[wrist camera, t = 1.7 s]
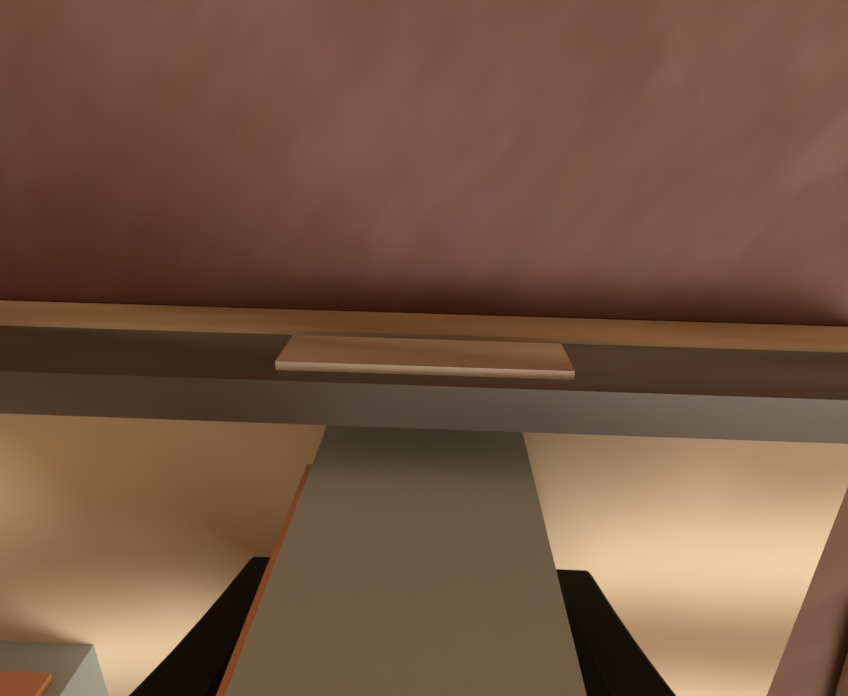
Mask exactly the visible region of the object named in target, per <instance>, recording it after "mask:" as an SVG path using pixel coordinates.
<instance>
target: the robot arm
mask: <svg viewBox="0 0 848 696" xmlns="http://www.w3.org/2000/svg"><path fill="white" fill-rule="evenodd" d="M269 560H270V557H253V558H252V559H250V560H249V561H248V562H247V564H246V565H245V566H244V567H243V569H242V570H241V571H240V572H239V574H238V575H237V576H236V577H235V579H234V580H233V581H232V582H231V583H230V585H229V586H228V587H227V588H226V590H225V591H224V592H223V593H222V594H221V596H220V597H219V598H218V599H217V600H216V601H215V603H214V604H213V605H212V606H211V607H210V609H209V610H208V611H207V612H206V613H205V614H204V616H203V617H202V618H201V619H200V620H199V621H198V622H197V623H196V625H195V626H194V627H193V628H192V629H191V630H190V631H189V632H188V634H187V635H186V636H185V637H184V638H183V639H182V640H181V641H180V643H179V644H178V645H177V646H176V647H175V648H174V649H173V650H172V651H171V652H170V654H169V655H168V656H167V657H166V658H165V659H164V660H163V661H162V662H161V663H160V664H159V665H158V666H157V667H156V668H155V669H154V670H153V671H152V672H151V673H150V674H149V675H148V676H147V677H146V678H145V680H144V681H143V682H142V683H141V684H140V685H139V686H138V687H137V688H136V689H135V690H134V691H133V692H132V693H131V694H130V695H129V696H216V694H217V692H218V689H219V687H220V684H221V682H222V679H223V677H224V674H225V671H226V669H227V666H228V664H229V661H230V659H231V656H232V654H233V651H234V649H235V646H236V643H237V641H238V638H239V636H240V633H241V631H242V628H243V626H244V623H245V621H246V618H247V616H248V613H249V610H250V608H251V605H252V603H253V600H254V598H255V595H256V593H257V590H258V588H259V585H260V583H261V580H262V577H263V575H264V572H265V570H266V567H267V565H268V562H269ZM556 571H557V576H558V580H559V584H560V588H561V592H562V596H563V600H564V604H565V608H566V612H567V617H568V621H569V625H570V629H571V633H572V637H573V641H574V645H575V649H576V653H577V658H578V662H579V666H580V670H581V674H582V678H583V682H584V686H585V690H586V694H587V696H676V695H675V694H674V692H673V691H672V690H671V688H670V687H669V686H668V685H667V683H666V682H665V681H664V679H663V678H662V677H661V675H660V674H659V673H658V671H657V670H656V668H655V667H654V666H653V664H652V663H651V662H650V660H649V659H648V658H647V656H646V655H645V654H644V652H643V651H642V650H641V648H640V647H639V645H638V644H637V642H636V641H635V640H634V638H633V637H632V635H631V634H630V632H629V631H628V630H627V628H626V627H625V625H624V624H623V622H622V621H621V619H620V618H619V616H618V615H617V613H616V612H615V610H614V609H613V607H612V606H611V604H610V603H609V601H608V600H607V598H606V597H605V595H604V594H603V592H602V590H601V589H600V587H599V586H598V584H597V582H596V581H595V579H594V578H593V576H592V575H591V574H590V573H589V572H588V571H586V570H562V569H556Z"/></svg>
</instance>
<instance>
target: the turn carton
mask: <svg viewBox="0 0 848 696" xmlns="http://www.w3.org/2000/svg"><path fill="white" fill-rule="evenodd" d="M216 696H587V694H586V690H585V686H584V682H583V678H582V674H581V670H580V666H579V662H578V658H577V653H576V649H575V645H574V641H573V637H572V633H571V629H570V625H569V621H568V617H567V612H566V608H565V604H564V600H563V596H562V592H561V588H560V584H559V580H558V576H557V571H556V567H555V563H554V559H553V555H552V551H551V547H550V543H549V539H548V535H547V530H546V526H545V522H544V518H543V514H542V510H541V506H540V502H539V498H538V494H537V490H536V485H535V481H534V477H533V473H532V469H531V465H530V461H529V457H528V453H527V449H526V444H525V440H524V436H523V432H502V431H474V430H447V429H419V428H391V427H363V426H336V425H327V427H326V429H325V432H324V435H323V437H322V440H321V443H320V445H319V448H318V451H317V453H316V456H315V458H314V461H313V464H307V466H306V468H305V471H304V473H303V476H302V478H301V481H300V483H299V486H298V489H297V491H296V494H295V496H294V499H293V501H292V504H291V506H290V509H289V511H288V514H287V516H286V519H285V522H284V524H283V527H282V529H281V532H280V534H279V537H278V539H277V542H276V544H275V547H274V550H273V552H272V555H271V557H270V560H269V562H268V565H267V567H266V570H265V572H264V575H263V577H262V580H261V583H260V585H259V588H258V590H257V593H256V595H255V598H254V600H253V603H252V605H251V608H250V610H249V613H248V616H247V618H246V621H245V623H244V626H243V628H242V631H241V633H240V636H239V638H238V641H237V643H236V646H235V649H234V651H233V654H232V656H231V659H230V661H229V664H228V666H227V669H226V671H225V674H224V677H223V679H222V682H221V684H220V687H219V689H218V692H217V694H216Z"/></svg>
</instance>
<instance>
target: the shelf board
mask: <svg viewBox="0 0 848 696" xmlns="http://www.w3.org/2000/svg"><path fill="white" fill-rule="evenodd" d="M327 425H336V426H363V427H391V428H419V429H447V430H474V431H502V432H523V436H524V440H525V444H526V449H527V453H528V457H529V461H530V465H531V469H532V473H533V477H534V481H535V485H536V490H537V494H538V498H539V502H540V506H541V510H542V514H543V518H544V522H545V526H546V530H547V535H548V539H549V543H550V547H551V551H552V555H553V559H554V563H555V567H556V569H562V570H586V571H588V572H589V573H590V574H591V575H592V576H593V578H594V579H595V581H596V582H597V584H598V586H599V587H600V589H601V590H602V592H603V594H604V595H605V597H606V598H607V600H608V601H609V603H610V604H611V606H612V607H613V609H614V610H615V612H616V613H617V615H618V616H619V618H620V619H621V621H622V622H623V624H624V625H625V627H626V628H627V630H628V631H629V632H630V634H631V635H632V637H633V638H634V640H635V641H636V642H637V644H638V645H639V647H640V648H641V650H642V651H643V652H644V654H645V655H646V656H647V658H648V659H649V660H650V662H651V663H652V664H653V666H654V667H655V668H656V670H657V671H658V673H659V674H660V675H661V677H662V678H663V679H664V681H665V682H666V683H667V685H668V686H669V687H670V688H671V690H672V691H673V692H674V694H675V695H676V696H766V695H767V693H768V690H769V688H770V685H771V682H772V680H773V677H774V675H775V672H776V670H777V667H778V664H779V662H780V659H781V657H782V654H783V652H784V649H785V646H786V644H787V641H788V639H789V636H790V634H791V631H792V628H793V626H794V623H795V621H796V618H797V616H798V613H799V611H800V608H801V605H802V603H803V600H804V598H805V595H806V593H807V590H808V587H809V585H810V582H811V580H812V577H813V575H814V572H815V569H816V567H817V564H818V562H819V559H820V557H821V554H822V551H823V549H824V546H825V544H826V541H827V539H828V536H829V533H830V531H831V528H832V526H833V523H834V521H835V518H836V516H837V513H838V510H839V508H840V505H841V503H842V500H843V498H844V495H845V492H846V490H847V487H848V327H841V326H809V325H777V324H744V323H712V322H680V321H648V320H616V319H583V318H551V317H519V316H487V315H455V314H422V313H390V312H358V311H326V310H294V309H261V308H229V307H197V306H165V305H133V304H100V303H68V302H36V301H4V300H0V640H2V641H24V642H45V643H67V644H89V645H94V648H95V651H96V655H97V658H98V661H99V665H100V668H101V671H102V675H103V678H104V681H105V685H106V688H107V691H108V695H109V696H129V695H130V694H131V693H132V692H133V691H134V690H135V689H136V688H137V687H138V686H139V685H140V684H141V683H142V682H143V681H144V680H145V678H146V677H147V676H148V675H149V674H150V673H151V672H152V671H153V670H154V669H155V668H156V667H157V666H158V665H159V664H160V663H161V662H162V661H163V660H164V659H165V658H166V657H167V656H168V655H169V654H170V652H171V651H172V650H173V649H174V648H175V647H176V646H177V645H178V644H179V643H180V641H181V640H182V639H183V638H184V637H185V636H186V635H187V634H188V632H189V631H190V630H191V629H192V628H193V627H194V626H195V625H196V623H197V622H198V621H199V620H200V619H201V618H202V617H203V616H204V614H205V613H206V612H207V611H208V610H209V609H210V607H211V606H212V605H213V604H214V603H215V601H216V600H217V599H218V598H219V597H220V596H221V594H222V593H223V592H224V591H225V590H226V588H227V587H228V586H229V585H230V583H231V582H232V581H233V580H234V579H235V577H236V576H237V575H238V574H239V572H240V571H241V570H242V569H243V567H244V566H245V565H246V564H247V562H248V561H249V560H250V559H252V558H253V557H271V555H272V552H273V550H274V547H275V544H276V542H277V539H278V537H279V534H280V532H281V529H282V527H283V524H284V522H285V519H286V516H287V514H288V511H289V509H290V506H291V504H292V501H293V499H294V496H295V494H296V491H297V489H298V486H299V483H300V481H301V478H302V476H303V473H304V471H305V468H306V466H307V464H313V461H314V458H315V456H316V453H317V451H318V448H319V445H320V443H321V440H322V437H323V435H324V432H325V429H326V427H327Z"/></svg>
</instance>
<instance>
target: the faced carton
mask: <svg viewBox="0 0 848 696" xmlns="http://www.w3.org/2000/svg"><path fill="white" fill-rule="evenodd" d="M0 696H109V695H108V691H107V688H106V685H105V681H104V678H103V675H102V671H101V668H100V665H99V661H98V658H97V655H96V651H95V648H94V645H89V644H67V643H45V642H24V641H2V640H0Z"/></svg>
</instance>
